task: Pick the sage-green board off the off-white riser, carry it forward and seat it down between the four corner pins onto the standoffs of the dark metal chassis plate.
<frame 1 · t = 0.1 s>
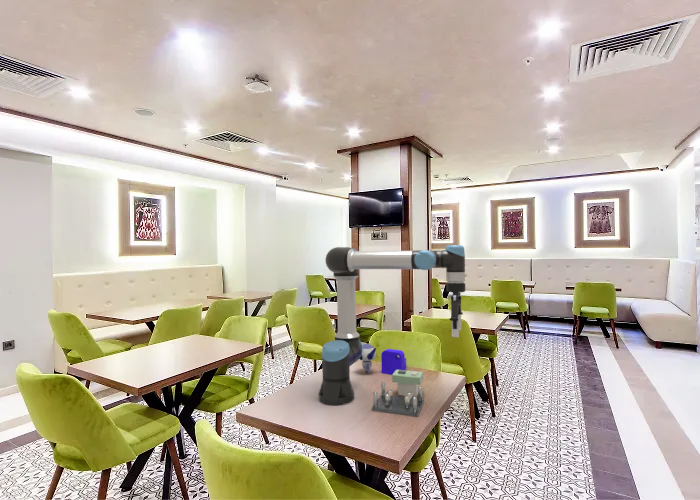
hand: (456, 333, 154), 28 cm above the table, fingers open, 13 cm apart
toy: (367, 373, 192), on the table
bracket: (398, 370, 196), on the table
chassis: (398, 406, 149), on the table
board: (407, 380, 162), point 6 cm above the table, touching riser
riser: (408, 394, 162), on the table
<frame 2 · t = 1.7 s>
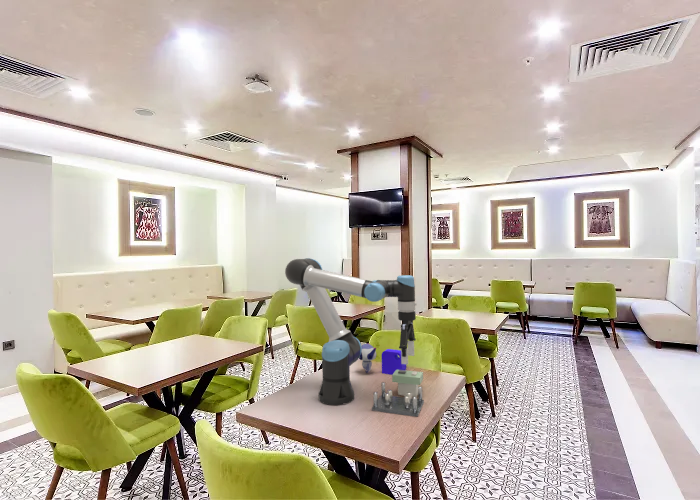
hand: (408, 359, 162), 15 cm above the table, fingers open, 13 cm apart
nothing on the table moved.
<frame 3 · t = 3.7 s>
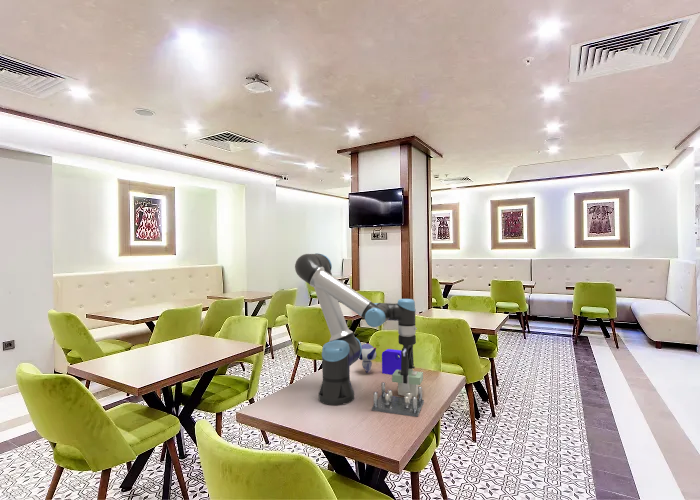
hand: (407, 386, 162), 3 cm above the table, fingers closed on board, 8 cm apart
board: (407, 380, 162), point 6 cm above the table, touching gripper, riser
everything else where it was.
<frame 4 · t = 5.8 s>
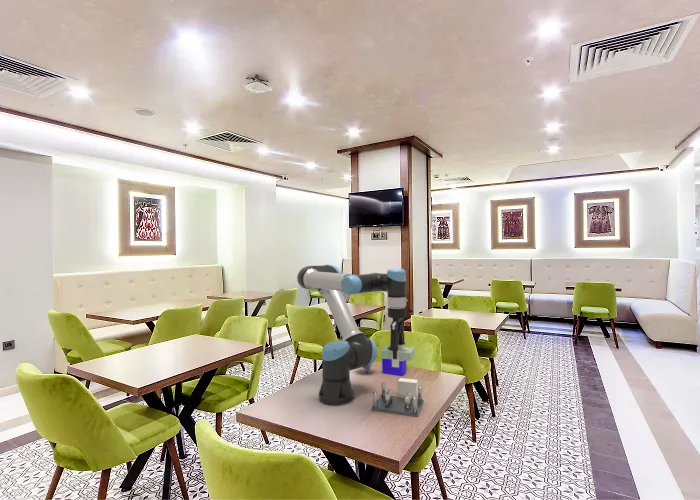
hand: (397, 363, 150), 17 cm above the table, fingers closed on board, 8 cm apart
board: (398, 356, 150), point 20 cm above the table, touching gripper
everything else where it was.
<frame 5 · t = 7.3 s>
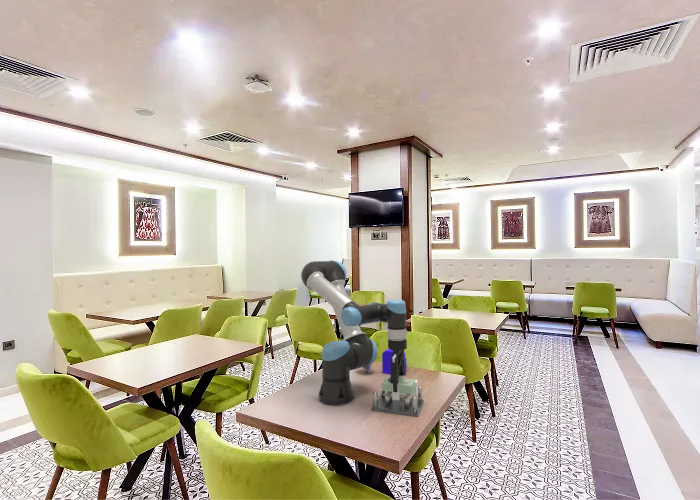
hand: (398, 395, 149), 4 cm above the table, fingers closed on board, 8 cm apart
board: (398, 388, 149), point 7 cm above the table, touching gripper
everything else where it was.
when the fingers open (3 cm above the table, at t = 8.3 s): board stays where it is, resting on chassis.
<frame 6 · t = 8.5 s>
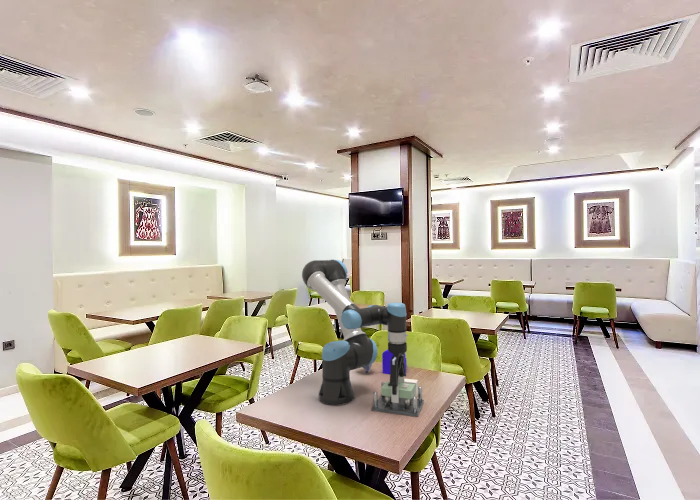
hand: (398, 397, 149), 4 cm above the table, fingers open, 10 cm apart
board: (398, 393, 149), point 5 cm above the table, touching chassis
everything else where it was.
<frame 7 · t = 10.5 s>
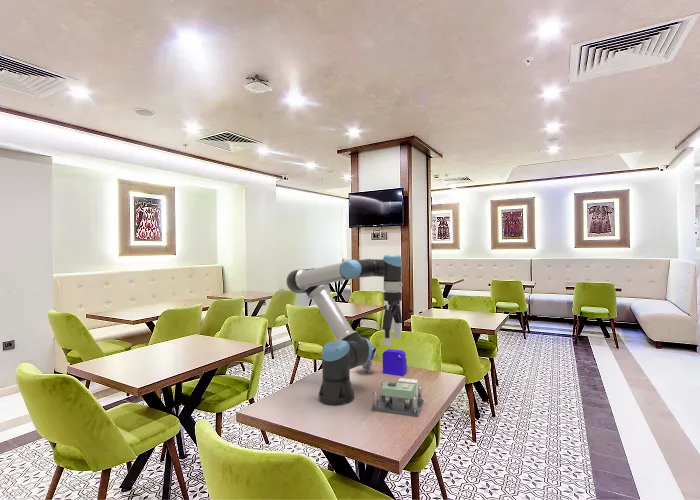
hand: (392, 341, 156), 24 cm above the table, fingers open, 13 cm apart
nothing on the table moved.
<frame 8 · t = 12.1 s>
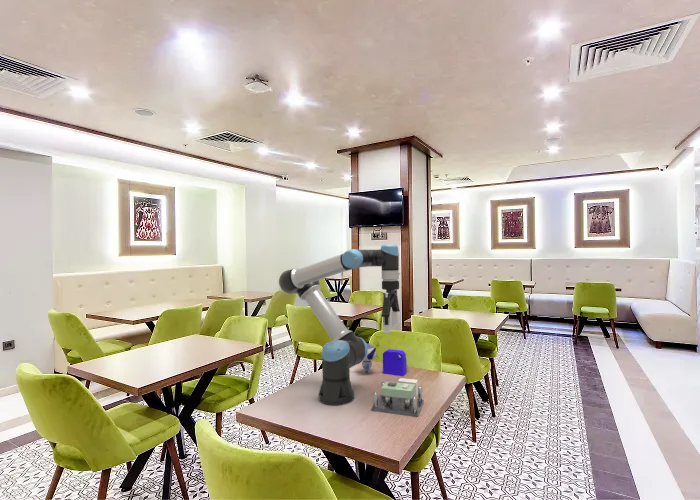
hand: (391, 329, 161), 29 cm above the table, fingers open, 13 cm apart
nothing on the table moved.
at the end: board 0.1 cm off-centre on the chassis, point 5.2 cm above the chassis's base; board tilted 0°; the gripper is holding nothing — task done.
